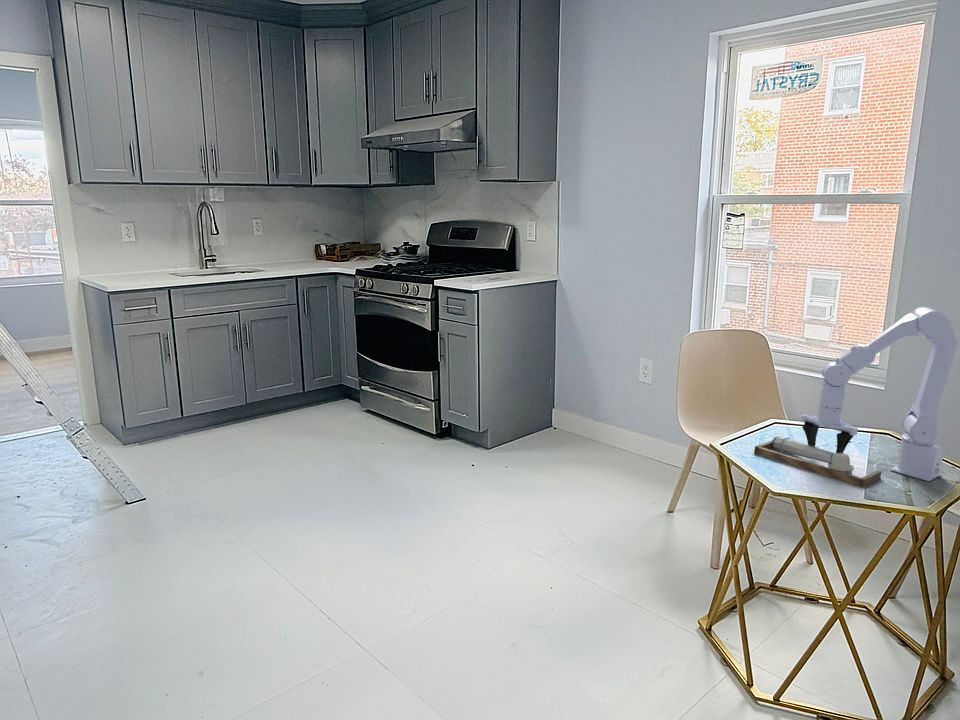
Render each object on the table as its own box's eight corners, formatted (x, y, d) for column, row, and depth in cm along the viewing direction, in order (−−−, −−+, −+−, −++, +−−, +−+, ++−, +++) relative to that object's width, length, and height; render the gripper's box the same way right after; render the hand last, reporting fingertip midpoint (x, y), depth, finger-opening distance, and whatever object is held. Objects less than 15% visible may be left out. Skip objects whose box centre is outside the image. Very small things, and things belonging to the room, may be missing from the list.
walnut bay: (880, 478, 180) (881, 471, 179) (862, 487, 174) (863, 480, 173) (773, 446, 203) (773, 439, 202) (754, 453, 197) (754, 446, 196)
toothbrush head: (783, 434, 202) (858, 451, 178) (783, 457, 202) (858, 476, 179) (769, 436, 200) (843, 454, 177) (769, 459, 200) (843, 479, 177)
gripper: (798, 402, 191) (792, 448, 194) (851, 415, 180) (844, 463, 183) (811, 398, 195) (805, 443, 198) (863, 410, 184) (856, 458, 187)
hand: (824, 453), depth 191 cm, fingers open, 7 cm apart
